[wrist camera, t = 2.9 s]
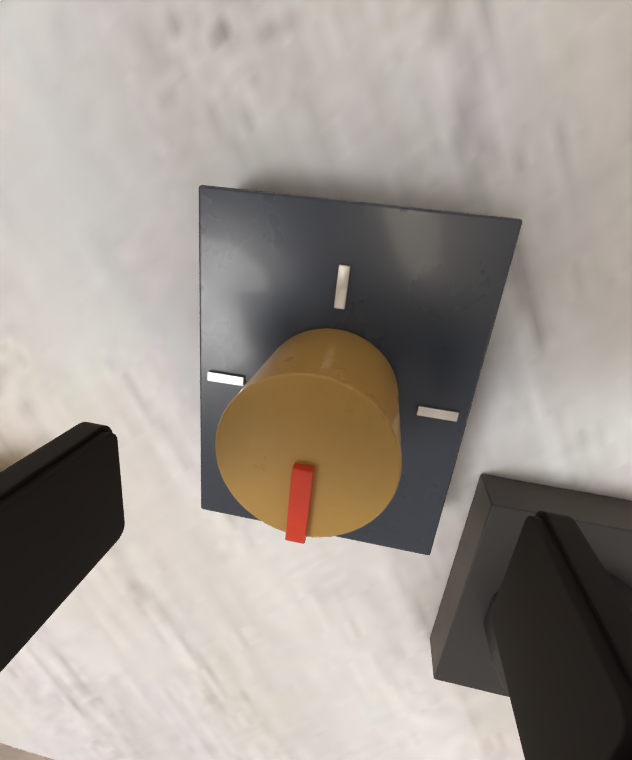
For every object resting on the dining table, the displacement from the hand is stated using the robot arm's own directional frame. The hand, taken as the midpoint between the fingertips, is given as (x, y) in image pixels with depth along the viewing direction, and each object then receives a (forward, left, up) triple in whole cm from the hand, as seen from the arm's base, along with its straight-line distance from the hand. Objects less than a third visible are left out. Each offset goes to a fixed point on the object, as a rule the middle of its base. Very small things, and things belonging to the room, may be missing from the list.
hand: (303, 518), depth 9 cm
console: (0, 0, -9) cm, 9 cm away
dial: (0, 0, -6) cm, 6 cm away
